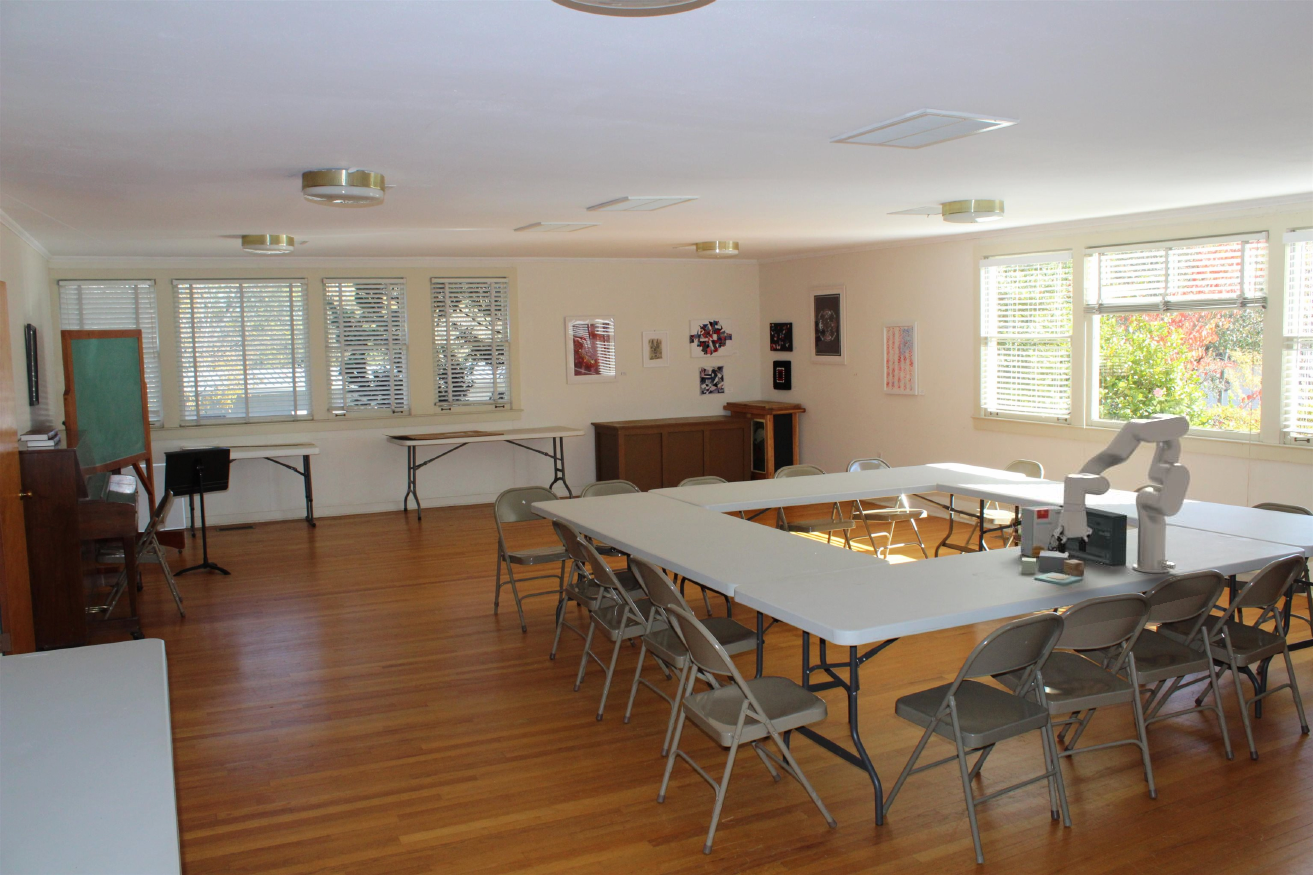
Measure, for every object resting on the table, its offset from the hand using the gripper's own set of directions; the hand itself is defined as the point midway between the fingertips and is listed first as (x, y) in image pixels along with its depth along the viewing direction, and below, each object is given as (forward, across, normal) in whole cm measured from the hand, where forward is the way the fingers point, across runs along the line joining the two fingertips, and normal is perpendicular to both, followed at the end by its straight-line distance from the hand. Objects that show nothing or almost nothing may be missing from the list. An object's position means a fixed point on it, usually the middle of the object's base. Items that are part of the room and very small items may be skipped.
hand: (1071, 552), depth 351 cm
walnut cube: (+9, -1, 0) cm, 9 cm away
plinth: (+9, -1, -10) cm, 14 cm away
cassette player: (+8, -27, -18) cm, 33 cm away
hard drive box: (+8, -14, -32) cm, 36 cm away
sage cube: (+9, +11, -10) cm, 17 cm away
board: (+9, +10, +5) cm, 14 cm away
